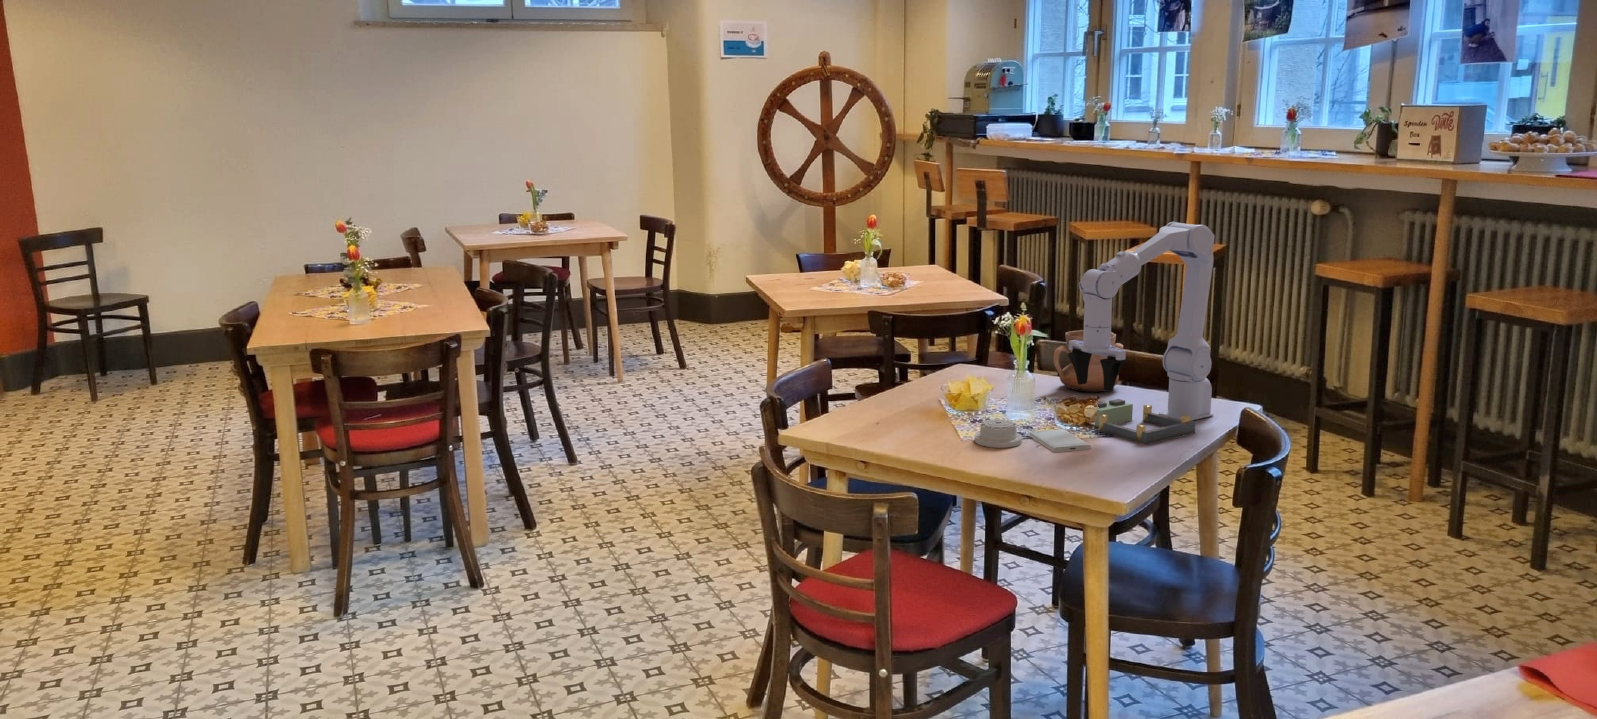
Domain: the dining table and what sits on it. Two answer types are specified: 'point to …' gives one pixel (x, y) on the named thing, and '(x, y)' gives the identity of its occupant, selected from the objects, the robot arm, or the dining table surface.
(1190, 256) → the robot arm
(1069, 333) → the ceramic jug
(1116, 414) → the green block
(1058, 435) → the hard drive
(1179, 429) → the tray
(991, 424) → the gray cake
